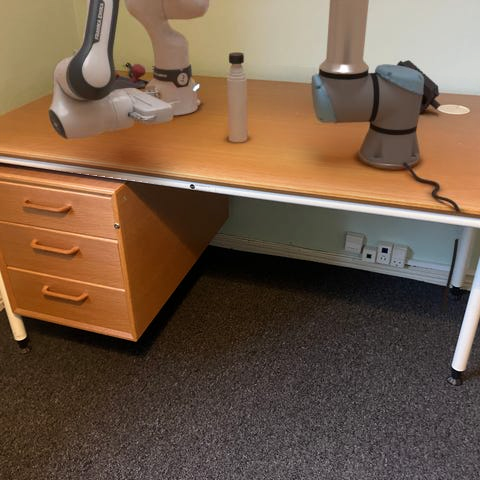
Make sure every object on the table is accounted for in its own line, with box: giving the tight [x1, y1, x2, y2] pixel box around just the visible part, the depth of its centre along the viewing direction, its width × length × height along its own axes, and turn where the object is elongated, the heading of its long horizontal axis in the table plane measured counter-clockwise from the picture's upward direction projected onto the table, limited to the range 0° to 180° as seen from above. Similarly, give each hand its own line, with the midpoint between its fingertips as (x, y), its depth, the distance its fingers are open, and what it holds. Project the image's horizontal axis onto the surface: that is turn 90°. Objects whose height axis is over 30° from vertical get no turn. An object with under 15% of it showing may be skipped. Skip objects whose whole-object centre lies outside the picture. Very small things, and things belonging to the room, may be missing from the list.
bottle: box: [226, 63, 248, 143], centre depth 147 cm, size 5×5×23 cm
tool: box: [396, 59, 442, 114], centre depth 170 cm, size 6×19×15 cm, turn 51°
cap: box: [228, 51, 245, 65], centre depth 141 cm, size 4×4×2 cm
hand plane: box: [72, 48, 146, 90], centre depth 194 cm, size 7×31×15 cm, turn 107°
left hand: (170, 99), depth 134 cm, fingers open, 8 cm apart
